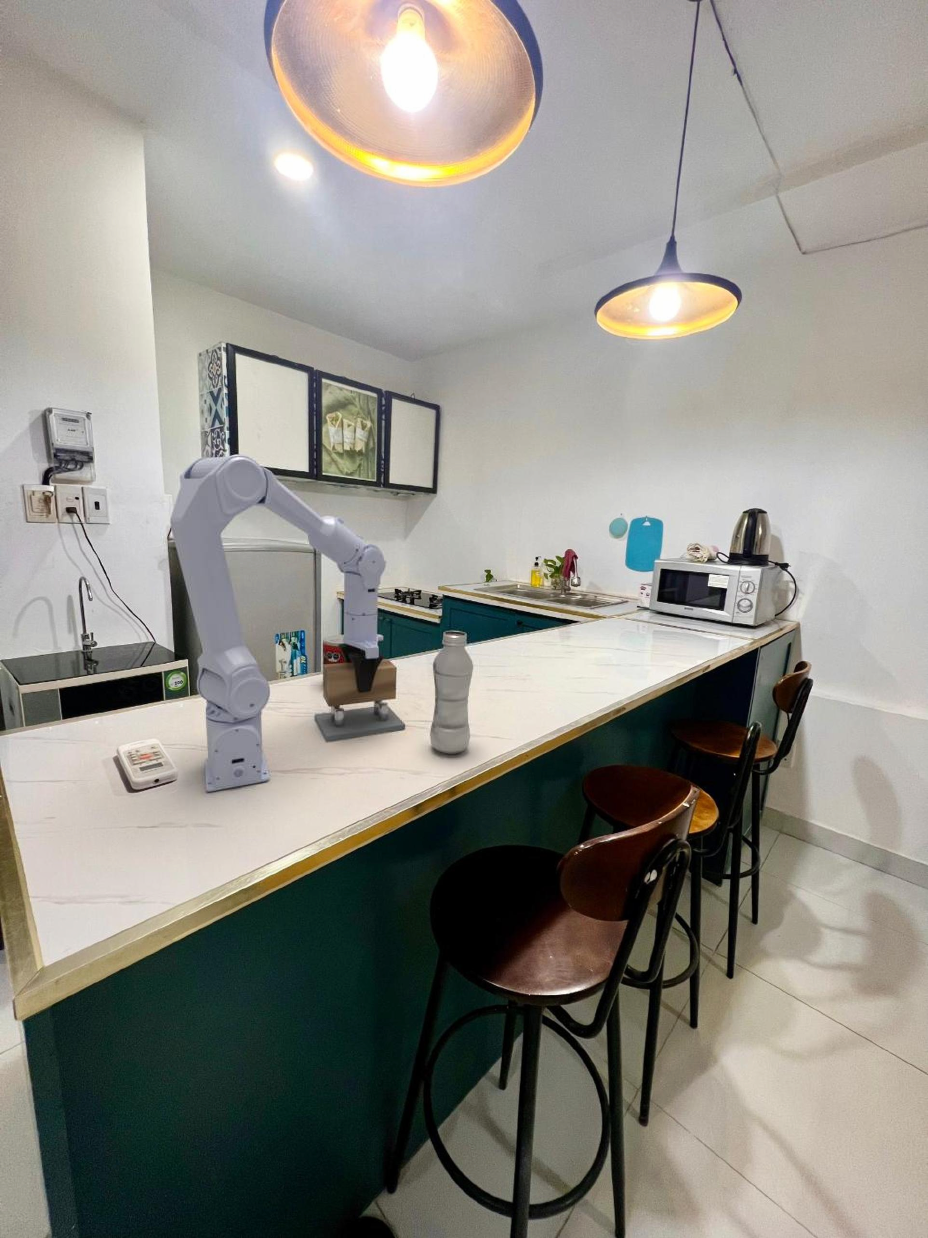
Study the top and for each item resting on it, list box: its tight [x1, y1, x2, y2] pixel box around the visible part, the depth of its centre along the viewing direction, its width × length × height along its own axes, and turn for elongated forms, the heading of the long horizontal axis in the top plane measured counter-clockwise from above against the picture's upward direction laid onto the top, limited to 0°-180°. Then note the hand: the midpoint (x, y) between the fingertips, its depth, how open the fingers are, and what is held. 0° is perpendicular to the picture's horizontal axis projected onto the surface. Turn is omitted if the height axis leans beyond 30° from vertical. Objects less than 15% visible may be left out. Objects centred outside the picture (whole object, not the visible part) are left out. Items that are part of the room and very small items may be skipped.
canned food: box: [322, 634, 345, 666], centre depth 107 cm, size 8×8×11 cm
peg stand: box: [314, 700, 406, 743], centre depth 89 cm, size 10×14×4 cm
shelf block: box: [322, 659, 398, 708], centre depth 88 cm, size 5×12×6 cm, turn 117°
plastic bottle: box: [429, 630, 474, 755], centre depth 80 cm, size 6×7×20 cm
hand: (359, 686), depth 88 cm, fingers closed on shelf block, 5 cm apart
